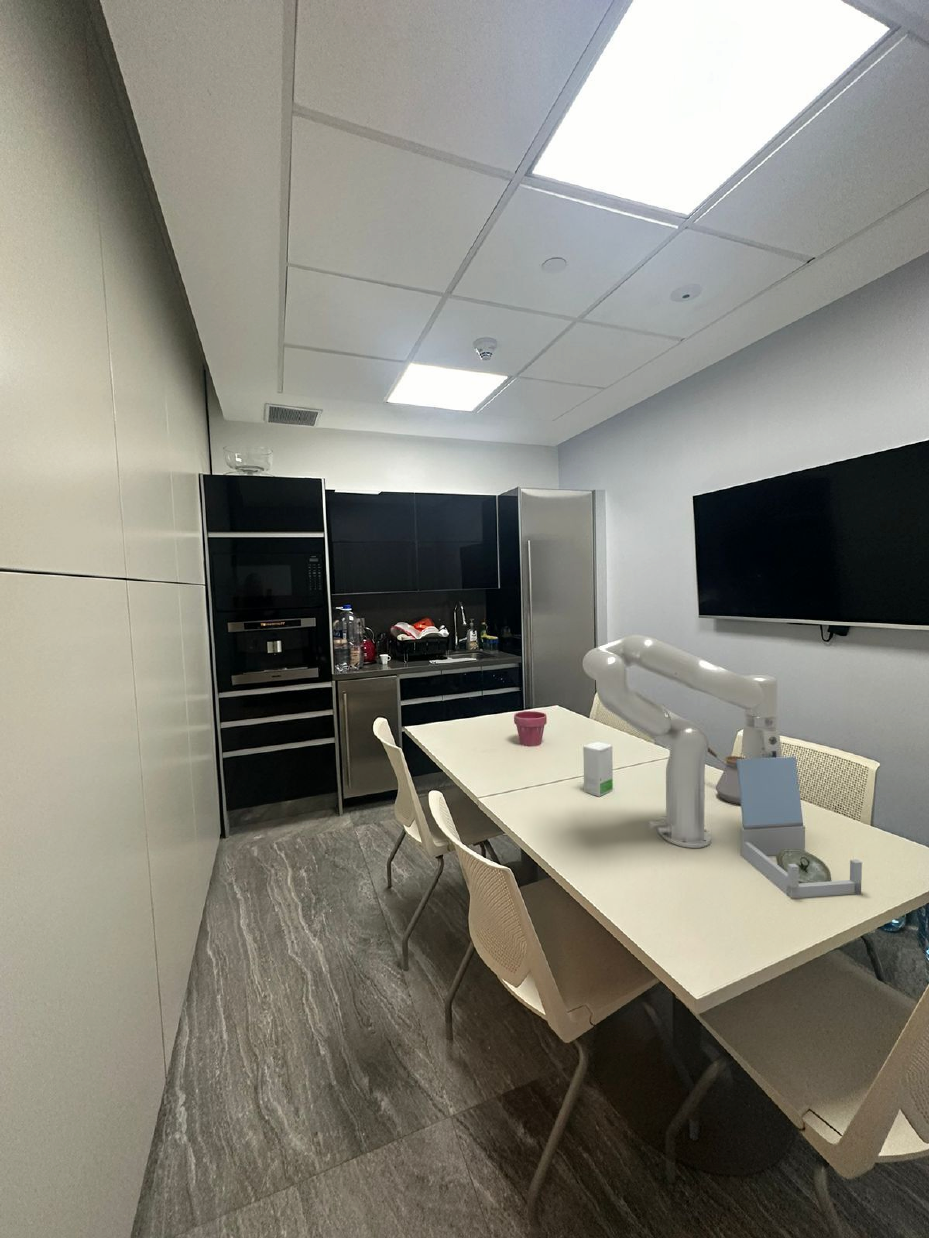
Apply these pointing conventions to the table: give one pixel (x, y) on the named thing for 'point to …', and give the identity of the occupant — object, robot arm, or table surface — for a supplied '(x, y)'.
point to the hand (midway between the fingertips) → (759, 787)
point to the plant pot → (530, 727)
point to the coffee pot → (728, 779)
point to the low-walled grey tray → (791, 837)
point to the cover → (769, 792)
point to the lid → (804, 865)
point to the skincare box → (598, 768)
